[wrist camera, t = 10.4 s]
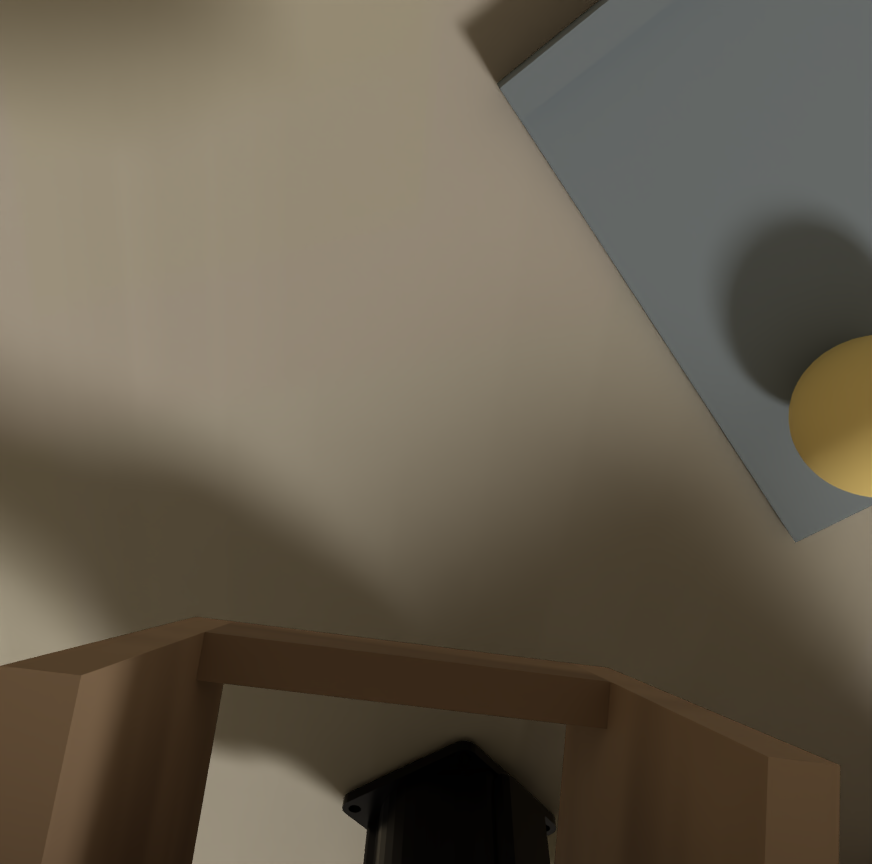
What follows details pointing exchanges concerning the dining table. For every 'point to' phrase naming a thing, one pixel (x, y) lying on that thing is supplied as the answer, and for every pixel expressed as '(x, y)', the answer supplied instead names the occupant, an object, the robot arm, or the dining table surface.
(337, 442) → the dining table surface
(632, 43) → the tray mat
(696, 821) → the box
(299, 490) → the dining table surface
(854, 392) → the ball
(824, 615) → the dining table surface
